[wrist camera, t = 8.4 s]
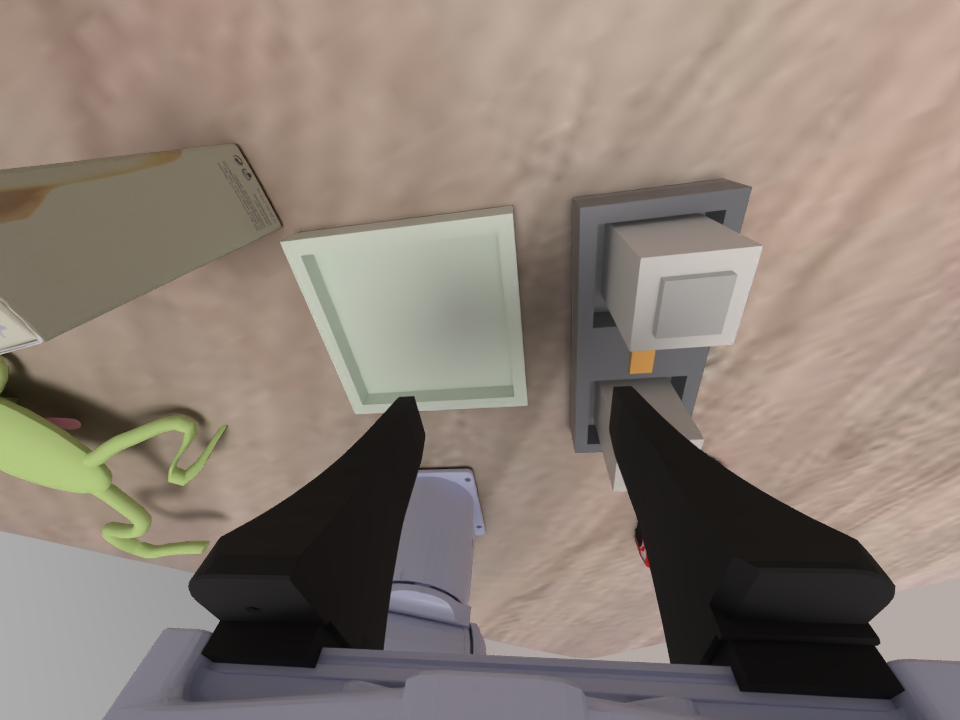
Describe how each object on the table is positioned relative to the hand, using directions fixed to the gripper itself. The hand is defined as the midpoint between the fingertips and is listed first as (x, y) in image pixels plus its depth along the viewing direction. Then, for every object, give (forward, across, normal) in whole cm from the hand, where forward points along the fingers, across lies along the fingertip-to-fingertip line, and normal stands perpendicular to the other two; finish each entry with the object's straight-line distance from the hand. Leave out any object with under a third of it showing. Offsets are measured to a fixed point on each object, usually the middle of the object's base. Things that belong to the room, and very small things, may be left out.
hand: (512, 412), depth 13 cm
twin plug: (+9, -7, +7) cm, 14 cm away
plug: (+9, -7, -2) cm, 12 cm away
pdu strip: (+10, -7, +3) cm, 12 cm away
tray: (+10, +6, +1) cm, 11 cm away
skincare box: (+10, +16, -7) cm, 20 cm away
